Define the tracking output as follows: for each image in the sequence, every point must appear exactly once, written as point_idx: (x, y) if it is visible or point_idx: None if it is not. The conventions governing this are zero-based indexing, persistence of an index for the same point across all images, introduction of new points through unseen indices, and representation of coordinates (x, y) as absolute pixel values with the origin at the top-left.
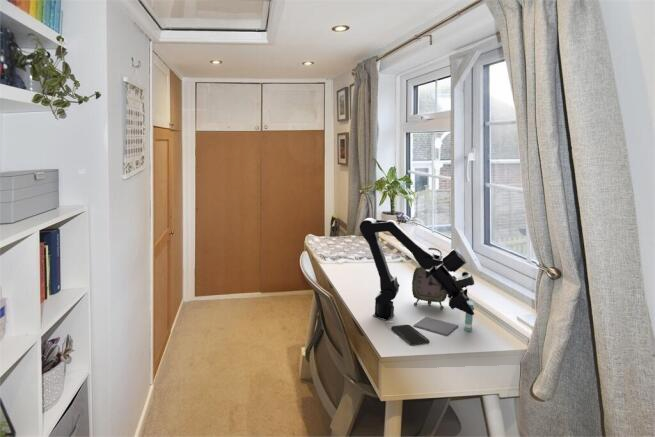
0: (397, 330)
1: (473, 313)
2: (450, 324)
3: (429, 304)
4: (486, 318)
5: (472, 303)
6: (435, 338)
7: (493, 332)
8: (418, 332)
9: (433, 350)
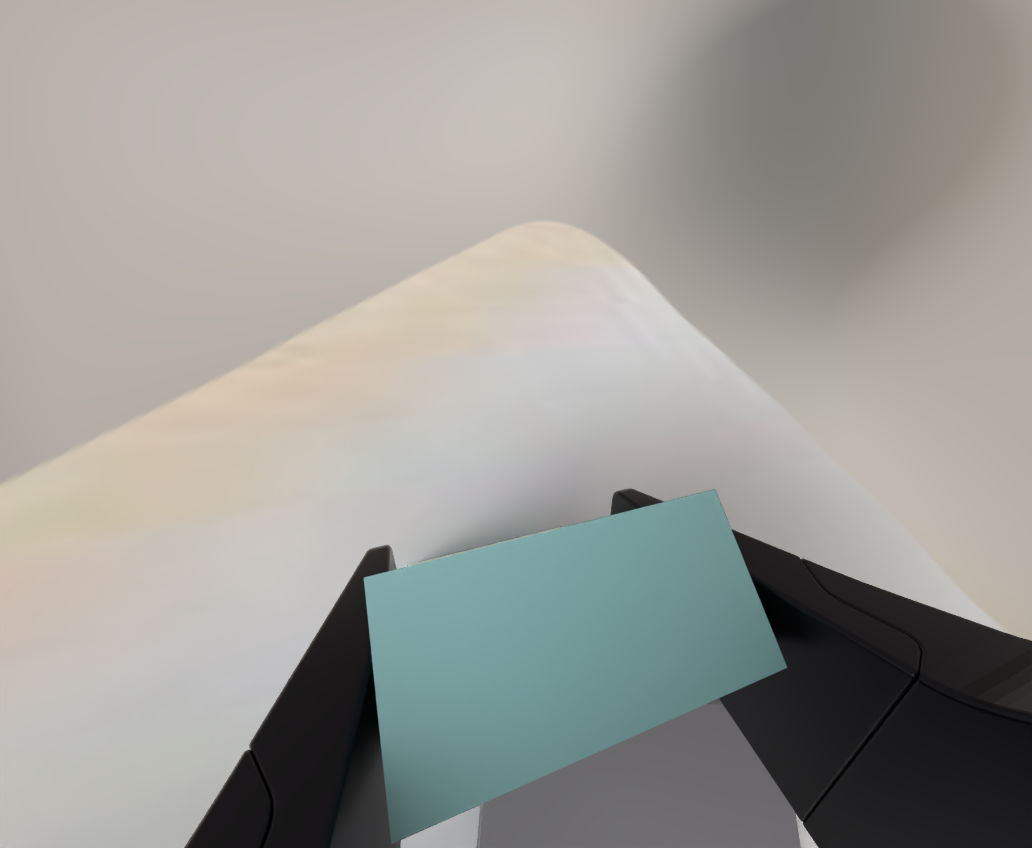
0: None
1: (638, 498)
2: (524, 797)
3: None
4: (47, 473)
5: (598, 548)
6: None
7: (445, 371)
8: None
9: None
